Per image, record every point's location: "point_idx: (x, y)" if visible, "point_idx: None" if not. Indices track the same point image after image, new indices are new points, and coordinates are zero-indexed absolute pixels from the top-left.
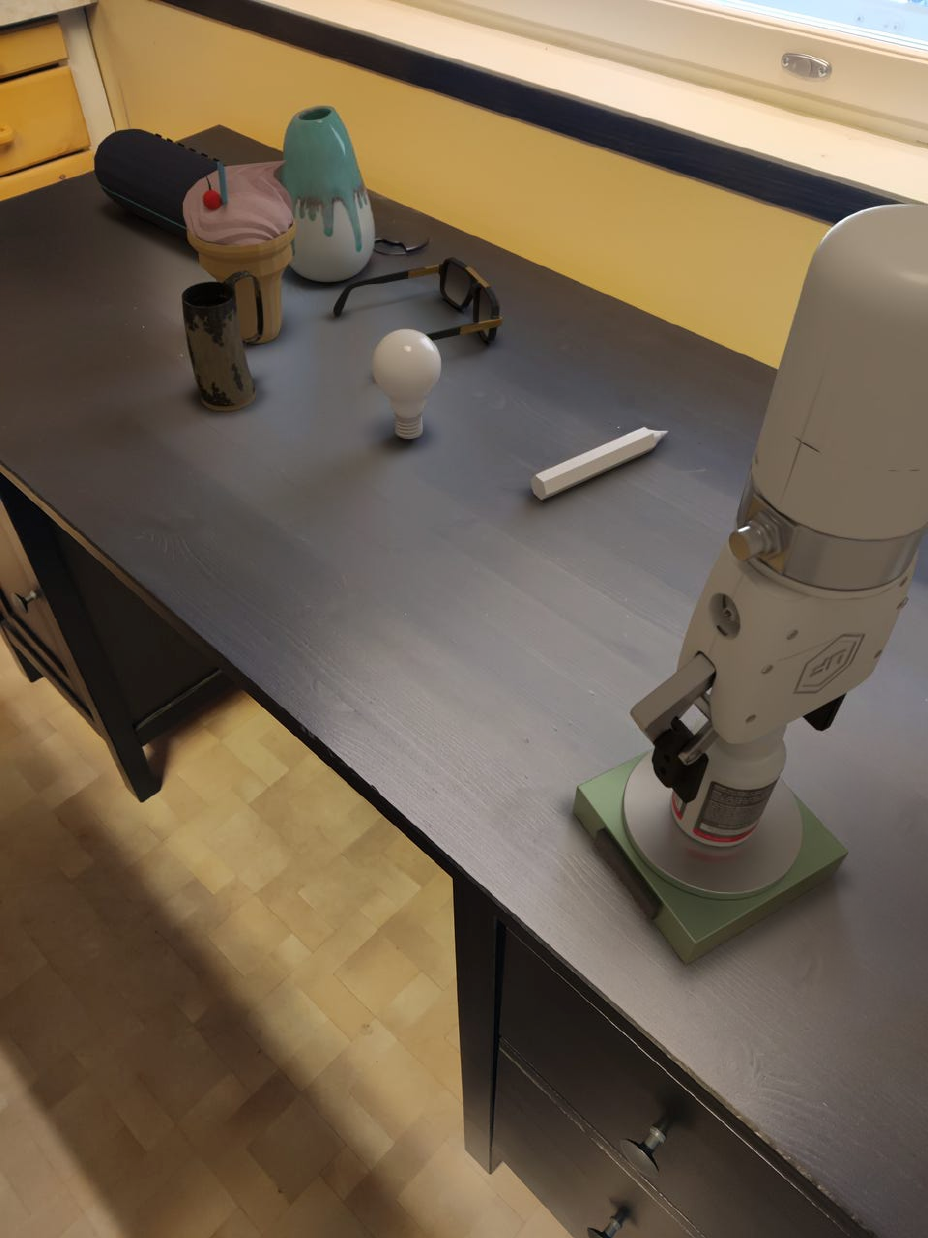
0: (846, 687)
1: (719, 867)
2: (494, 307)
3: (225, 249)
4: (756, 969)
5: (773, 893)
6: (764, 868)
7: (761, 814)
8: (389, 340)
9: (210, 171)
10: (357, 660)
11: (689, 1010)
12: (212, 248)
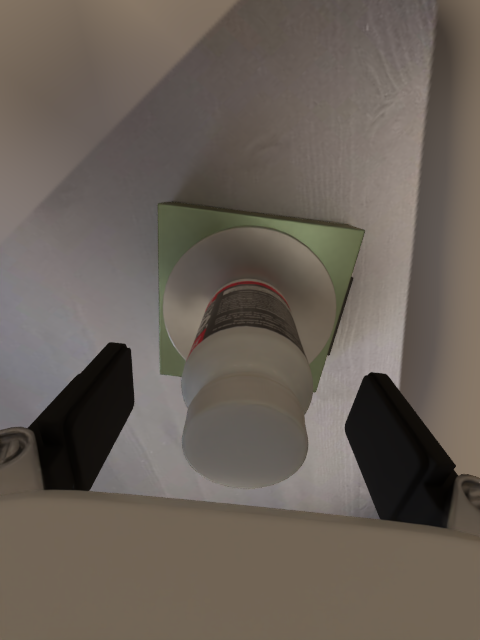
0: (69, 546)
1: (291, 273)
2: None
3: None
4: (303, 181)
5: (261, 220)
6: (256, 244)
7: (236, 291)
8: None
9: None
10: (330, 507)
11: (379, 192)
12: None
